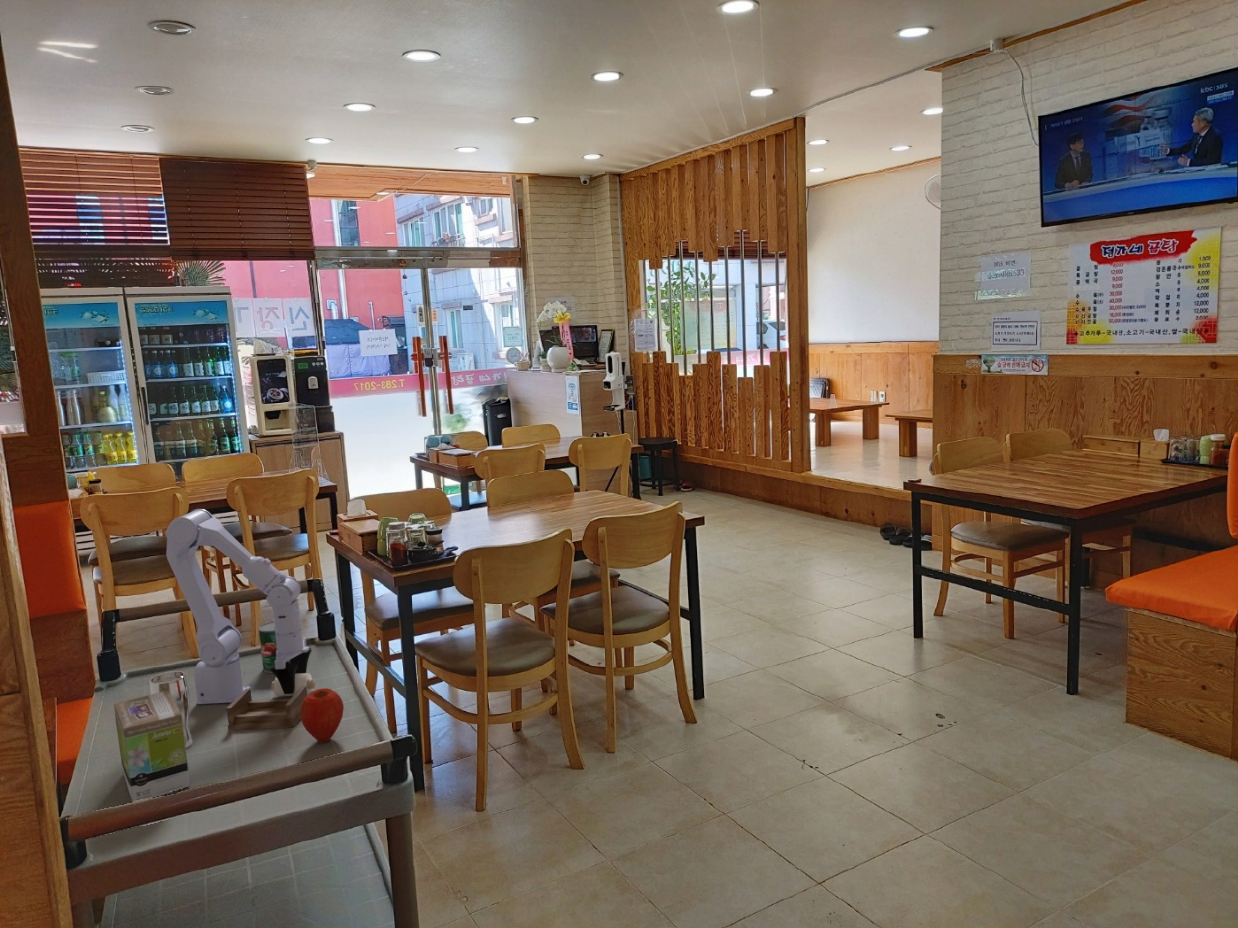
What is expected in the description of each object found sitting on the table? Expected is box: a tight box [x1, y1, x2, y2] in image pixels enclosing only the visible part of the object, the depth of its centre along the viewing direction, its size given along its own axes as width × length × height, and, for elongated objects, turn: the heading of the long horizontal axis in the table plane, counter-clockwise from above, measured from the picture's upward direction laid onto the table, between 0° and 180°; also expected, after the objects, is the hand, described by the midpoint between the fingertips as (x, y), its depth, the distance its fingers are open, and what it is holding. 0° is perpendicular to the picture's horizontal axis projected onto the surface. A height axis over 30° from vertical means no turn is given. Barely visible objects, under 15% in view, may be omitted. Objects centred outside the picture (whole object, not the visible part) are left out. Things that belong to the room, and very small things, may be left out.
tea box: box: [113, 691, 191, 802], centre depth 166 cm, size 15×10×15 cm, turn 35°
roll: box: [270, 672, 316, 698], centre depth 204 cm, size 9×5×5 cm, turn 90°
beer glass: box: [148, 670, 194, 749], centre depth 180 cm, size 7×7×15 cm
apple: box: [300, 687, 344, 743], centre depth 179 cm, size 9×8×11 cm
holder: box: [226, 686, 307, 731], centre depth 192 cm, size 14×10×5 cm
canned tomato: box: [258, 620, 290, 674], centre depth 221 cm, size 8×8×11 cm
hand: (294, 686), depth 205 cm, fingers open, 7 cm apart
